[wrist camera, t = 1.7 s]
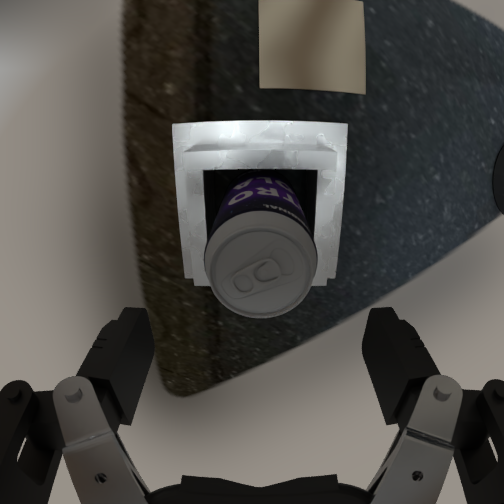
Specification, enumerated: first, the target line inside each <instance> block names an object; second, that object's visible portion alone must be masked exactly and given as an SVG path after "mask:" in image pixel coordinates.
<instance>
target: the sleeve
mask: <svg viewBox="0 0 504 504" xmlns="http://www.w3.org/2000/svg"><path fill="white" fill-rule="evenodd" d="M347 125H348V124H345V123H332V122H314V121H287V120H236V121H208V122H191V123H177V124H172V131H173V150H174V166H175V180H176V193H177V205H178V216H179V226H180V236H181V246H182V255H183V264H184V272H185V278H194V286H210V283H209V279H208V277H207V275H206V272H205V267H204V250H205V246H206V243H207V240H208V238H209V235H210V232H211V230H212V227H213V224H214V222H215V219H216V204H215V182H214V170H215V169H306V191H305V214H304V216H305V219H306V221H307V224H308V226H309V229H310V231H311V234H312V237H313V239H314V242H315V245H316V248H317V254H318V264H317V269H316V273H315V276H314V278H313V281H312V284H311V286H326V283H327V278H335V275H336V267H337V258H338V249H339V240H340V230H341V220H342V209H343V197H344V183H345V168H346V150H347Z"/></svg>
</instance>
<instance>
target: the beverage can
mask: <svg viewBox="0 0 504 504" xmlns="http://www.w3.org/2000/svg"><path fill="white" fill-rule="evenodd" d="M317 264H318V254H317V248H316V245H315V242H314V239H313V237H312V234H311V231H310V229H309V226H308V224H307V221H306V219H305V216H304V214H303V211H302V209H301V206H300V204H299V201H298V199H297V196H296V194H295V191H294V189H293V187H292V186H291V184H290V183H289V182H288V180H287V179H286V178H284V177H283V176H282V175H280V174H279V173H277V172H274V171H271V170H267V169H253V170H249V171H246V172H244V173H242V174H240V175H239V176H237V177H236V178H235V179H234V180H233V181H232V182H231V183H230V185H229V186H228V188H227V190H226V193H225V195H224V198H223V200H222V203H221V206H220V208H219V211H218V214H217V216H216V219H215V222H214V224H213V227H212V230H211V232H210V235H209V238H208V240H207V243H206V246H205V250H204V267H205V272H206V275H207V277H208V279H209V283H210V286H211V288H212V291H213V292H214V294H215V296H216V297H217V298H218V300H219V301H220V302H221V303H222V304H223V305H225V306H226V307H227V308H229V309H230V310H232V311H233V312H236V313H238V314H240V315H243V316H246V317H252V318H270V317H275V316H278V315H281V314H284V313H286V312H288V311H290V310H291V309H293V308H294V307H296V306H297V305H298V304H299V303H300V302H301V301H302V300H303V299H304V298H305V296H306V295H307V293H308V291H309V290H310V287H311V284H312V281H313V278H314V276H315V273H316V269H317Z"/></svg>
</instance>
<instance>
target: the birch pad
mask: <svg viewBox="0 0 504 504" xmlns="http://www.w3.org/2000/svg"><path fill="white" fill-rule="evenodd" d="M259 69H260V89H303V90H321V91H334V92H345V93H355V94H365V93H366V63H365V29H364V10H363V2H361V1H355V0H259Z"/></svg>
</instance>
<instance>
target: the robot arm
mask: <svg viewBox="0 0 504 504" xmlns="http://www.w3.org/2000/svg"><path fill="white" fill-rule="evenodd" d="M493 188H494V196H495V200H496V203H497V206H498V208H499V209H500V211H501V212H502V214H503V215H504V146H503V148H502V150H501V151H500V153H499V156H498V158H497V161H496V165H495V170H494V178H493ZM154 349H155V346H154V339H153V335H152V330H151V326H150V322H149V317H148V313H147V310H146V309H145V308H131V307H125V308H124V309H123V311H122V313H121V314H120V316H119V318H118V320H111V321H110V322H109V323H108V324H107V325H105V326H104V327H103V328H102V330H101V331H100V333H99V335H98V336H97V340H95V342H94V343H93V346H92V348H91V349H90V350H89V352H88V354H87V356H86V358H85V360H84V361H83V363H82V365H81V367H80V369H79V371H78V373H77V375H76V376H73V377H68V378H66V379H64V380H62V381H61V382H60V383H58V385H57V386H56V387H55V389H54V390H52V391H38V392H34V391H33V390H32V388H31V386H30V385H29V384H28V383H27V382H25V381H22V380H16V381H12V382H10V383H8V384H7V385H5V386H4V387H3V389H2V390H1V391H0V504H48V501H49V497H50V493H51V490H52V486H53V483H54V479H55V476H56V473H57V470H58V467H59V463H60V460H61V457H62V454H63V456H64V459H65V462H66V465H67V468H68V471H69V474H70V476H71V479H72V482H73V485H74V487H75V490H76V492H77V495H78V497H79V500H80V502H81V504H436V502H437V499H438V497H439V494H440V491H441V489H442V486H443V483H444V480H445V478H446V475H447V472H448V469H449V466H450V463H451V460H452V457H454V460H455V463H456V466H457V469H458V473H459V476H460V480H461V483H462V486H463V490H464V494H465V497H466V501H467V504H504V381H502V380H498V379H494V380H490V381H488V382H487V383H486V384H485V386H484V387H483V389H482V390H481V391H479V390H464V389H461V387H460V385H459V384H458V383H457V382H456V381H455V380H454V379H452V378H450V377H448V376H444V375H441V374H440V372H439V370H438V368H437V367H436V365H435V363H434V361H433V359H432V358H431V356H430V354H429V352H428V350H427V349H426V347H424V343H423V342H422V340H420V337H419V335H418V333H417V332H416V330H415V328H414V327H413V326H411V325H410V324H409V323H408V322H406V321H405V320H399V318H398V316H397V315H396V313H395V311H394V309H393V308H392V307H384V308H372V309H371V310H370V312H369V316H368V320H367V324H366V329H365V333H364V337H363V341H362V354H363V358H364V361H365V364H366V366H367V369H368V372H369V375H370V378H371V380H372V383H373V386H374V389H375V392H376V395H377V398H378V401H379V404H380V407H381V410H382V413H383V416H384V419H385V422H386V425H391V424H397V423H398V426H399V431H398V432H397V434H396V436H395V439H394V441H393V443H392V445H391V447H390V449H389V451H388V453H387V455H386V457H385V459H384V461H383V463H382V464H381V466H380V468H379V470H378V472H377V473H376V475H375V477H374V478H373V480H372V482H371V483H370V484H369V486H368V488H367V489H366V490H364V489H361V488H359V487H355V486H352V485H348V484H343V483H338V480H337V474H333V475H325V476H314V477H301V478H296V479H293V480H289V481H286V482H282V483H278V484H274V485H270V486H265V487H254V486H249V485H245V484H240V483H236V482H232V481H228V480H225V479H221V478H208V477H196V476H185V475H182V479H181V484H176V485H171V486H167V487H164V488H160V489H158V490H155V491H153V492H150V490H149V489H148V487H147V486H146V484H145V483H144V481H143V479H142V478H141V476H140V475H139V473H138V471H137V469H136V468H135V466H134V464H133V462H132V460H131V458H130V456H129V454H128V453H127V451H126V449H125V447H124V445H123V443H122V441H121V439H120V437H119V435H118V433H117V431H118V428H119V425H120V424H124V425H130V426H131V423H132V420H133V417H134V414H135V411H136V407H137V404H138V401H139V398H140V395H141V392H142V389H143V386H144V383H145V380H146V377H147V374H148V371H149V368H150V365H151V362H152V359H153V356H154ZM489 437H491V439H492V442H493V444H494V447H495V449H496V452H497V455H498V462H497V461H496V458H495V456H494V453H493V450H492V448H491V445H490V443H489V440H488V438H489ZM24 438H26V442H25V445H24V447H23V449H22V452H21V455H20V457H19V459H18V462H17V456H18V453H19V451H20V448H21V446H22V443H23V441H24Z"/></svg>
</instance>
